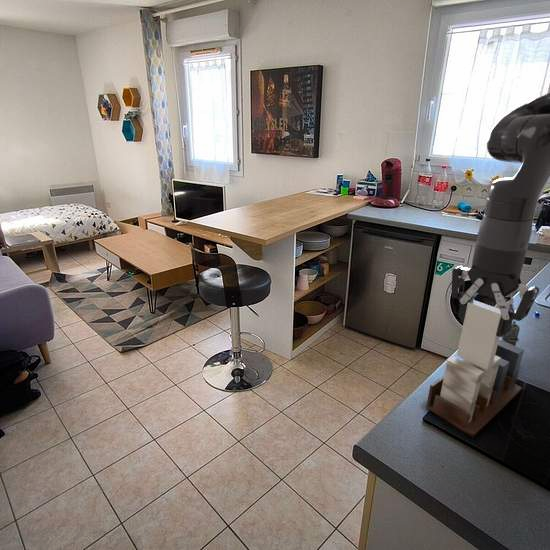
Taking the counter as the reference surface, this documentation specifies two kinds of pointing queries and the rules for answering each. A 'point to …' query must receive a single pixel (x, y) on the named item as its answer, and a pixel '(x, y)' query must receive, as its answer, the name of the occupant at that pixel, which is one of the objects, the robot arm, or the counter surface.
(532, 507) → the counter surface
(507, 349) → the book rack
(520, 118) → the robot arm
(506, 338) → the stone chess piece
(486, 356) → the white book
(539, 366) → the counter surface
